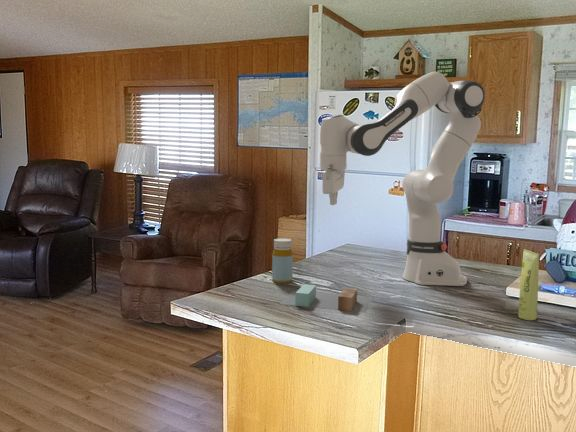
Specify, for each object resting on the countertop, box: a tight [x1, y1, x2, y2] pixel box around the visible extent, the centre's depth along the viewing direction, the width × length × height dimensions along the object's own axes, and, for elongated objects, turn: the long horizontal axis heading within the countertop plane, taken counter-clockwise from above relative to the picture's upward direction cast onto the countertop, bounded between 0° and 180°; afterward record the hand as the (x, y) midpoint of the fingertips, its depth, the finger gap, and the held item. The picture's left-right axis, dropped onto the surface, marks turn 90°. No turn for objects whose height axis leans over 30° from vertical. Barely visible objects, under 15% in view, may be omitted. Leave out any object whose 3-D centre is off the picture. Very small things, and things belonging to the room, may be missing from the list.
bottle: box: [271, 237, 294, 284], centre depth 201 cm, size 7×7×15 cm
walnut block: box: [337, 287, 358, 312], centre depth 174 cm, size 4×4×10 cm
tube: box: [517, 248, 540, 321], centre depth 164 cm, size 6×5×20 cm
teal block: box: [295, 284, 317, 308], centre depth 177 cm, size 4×4×10 cm
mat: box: [279, 290, 373, 313], centre depth 179 cm, size 26×16×1 cm, turn 74°
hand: (333, 204), depth 197 cm, fingers closed
